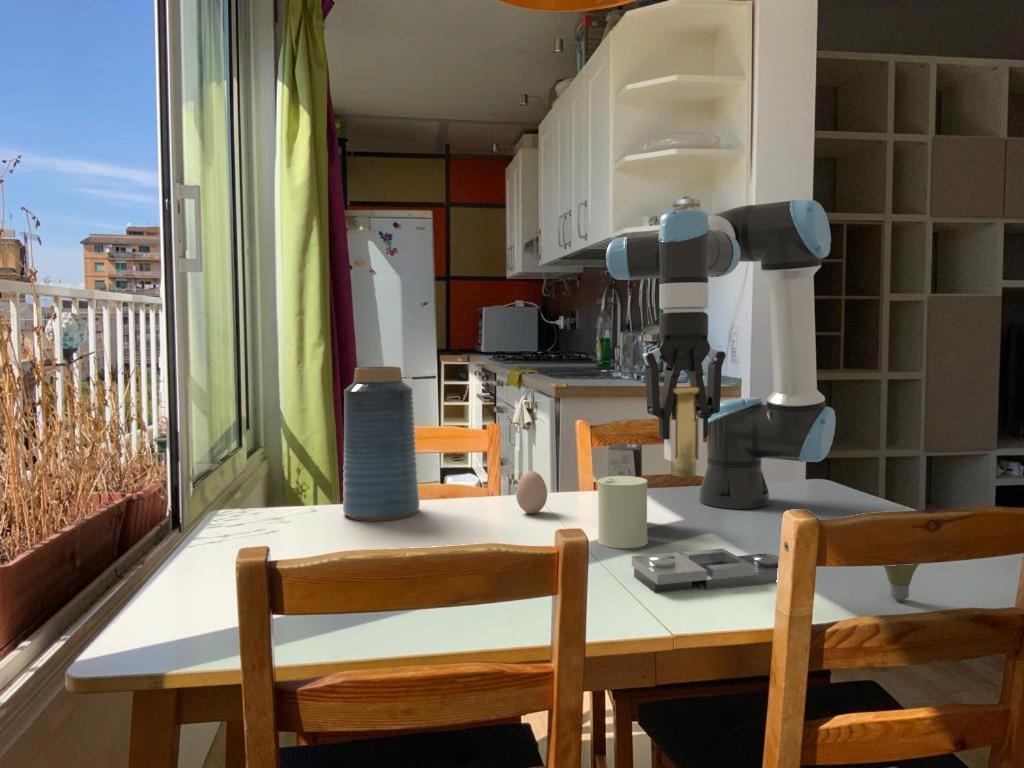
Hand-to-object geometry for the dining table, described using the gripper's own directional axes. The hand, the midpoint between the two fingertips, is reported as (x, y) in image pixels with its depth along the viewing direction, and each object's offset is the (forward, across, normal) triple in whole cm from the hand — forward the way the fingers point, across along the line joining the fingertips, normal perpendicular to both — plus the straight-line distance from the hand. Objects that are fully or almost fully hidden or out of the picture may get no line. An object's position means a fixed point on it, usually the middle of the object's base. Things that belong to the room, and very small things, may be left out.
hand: (683, 458), depth 129 cm
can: (+19, +3, -21) cm, 28 cm away
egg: (+19, +14, -47) cm, 53 cm away
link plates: (+19, -4, +3) cm, 19 cm away
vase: (+19, +45, -56) cm, 75 cm away
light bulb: (+19, -24, +20) cm, 36 cm away
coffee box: (+19, -2, -32) cm, 37 cm away
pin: (+3, 0, 0) cm, 3 cm away
